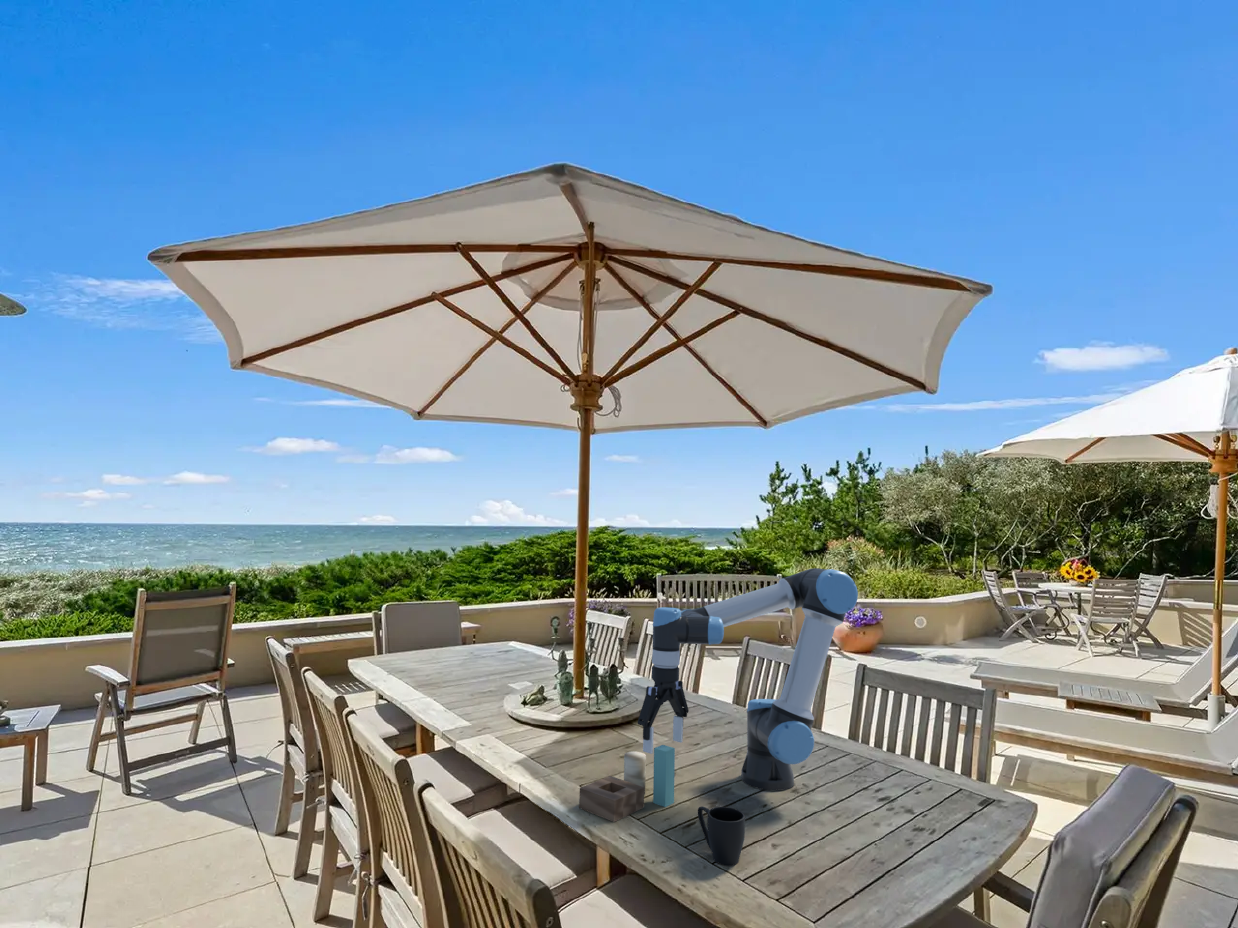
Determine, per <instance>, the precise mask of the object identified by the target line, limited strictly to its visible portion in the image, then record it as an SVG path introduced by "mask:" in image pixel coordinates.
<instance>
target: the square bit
mask: <svg viewBox="0 0 1238 928" xmlns="http://www.w3.org/2000/svg"><path fill="white" fill-rule="evenodd" d="M675 752H676V749H675V747H674V746H673V747H672V746H670V745H665V744H661V745H658V746H656V747H653V785H652V787H653V788H652V789H653V792H652V796H653V797H652V798H653V799H652V803H653V804H655V805H657V806H661V807H663V808H666V807H668V806H671V805H672V804H674V803H675V765H676V764H675V760H676V759H675V757H676V756H675V754H676V753H675Z"/></svg>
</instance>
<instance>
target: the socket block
mask: <svg viewBox="0 0 1238 928" xmlns="http://www.w3.org/2000/svg"><path fill="white" fill-rule="evenodd" d="M578 797H579V801H578V802H579V804H578V805H579V806H578V808H579V810H583V811H586V812H588V813H591V814H593V815H596V816H599V817H601V818H603V819H606V820H608V821H610V822H614V823H616V822H617V821H619V820H621V819H623V818H625V817H627V816H629V815H632V814H633V813H636V812H637V811H640V810H642V809H643V808H645V795H644V787H642V786H639V785H636V784H633V783H630V782H627V781H624V779H620V778H617V777H615V776H612V775H608V776H606V777H604V778H600V779H598V780H596V781H594V782H591V783H589V784H586V785H584V786H581V787H579V796H578Z"/></svg>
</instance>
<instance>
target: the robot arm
mask: <svg viewBox="0 0 1238 928" xmlns="http://www.w3.org/2000/svg"><path fill="white" fill-rule="evenodd" d="M858 596H859V593H858V588H857V585H856V583H855V581H854V580H853V578H851V576H849V574H847V573H845V572H843V571H840V570H836V569H832V568H830V569H827V568H826V569H825V568H817V567H813V568H809V569H805V570H802V571H800V572H797V573H794V574H791V575H788V576H786V577H782V578H780V579H779V581H778V583H775V584H771V585H769V586H765V587H762V588H759V589H756V590H752V591H750V592H746V593H743V594H740V595H736V596H733V597H730V598H727V599H723V600H720V601H717V602H714V603H710V604H707V605H704V606H702V607H699V608H698V607H697V608H694V609H684V610H682V611H681V609H680V608H677V607H665V606H664V607H657V608H655V610H654V611H653V620H652V621H653V622H652V654H651V655H652V658H651V664H653V665H652V666H651V677H650V678H651V680H652V681H653V683H654V684H653V686H649V685H648V686H646V688H645V695H644V700H643V703H642V707H641V710H640V713H639V717H638V720H637V725H638V726H642V740H643V741H642V752H643V753H647V754H651V755H652V754H654V730H655V727H654V726H653V724H654V722H655V719H656V717H657V716H658V712H659V711H660V708H661V706H663V705H664V704H665V703H666V702H668V703H669V705H670V706H671V708H672V710H673V712H674V715H673V722H672V723H673V726H672V728H673V729H672V741H674V742H677V743H683V741H684V740H683V736H684V733H683V732H684V729H683V728H684V718H687V717H688V714H689V707H688V706H689V705H688V703H687V699H686V696H685V692H684V683H683V680H680V668H679V665H680V662H681V661H680V659H681V657H680V656H681V653H680V651H681V647H680V646H681V644H683V645H685V644H690V645H709V646H711V645H720V644H721V643H722V642H723V640H724V636H725V628H726V627H729V626H731V625H735V624H739V623H742V622H745V621H748V620H751V619H752V620H753V619H754V618H757V617H761V616H763V615H768V614H771V613H774V612H776V611H780V610H782V609H783V610H784V609H786V608H788V609H790V610H795V609H798V608H801V610H802V613H803V615H804V620H803V622H802V626H801V629H800V631H799V636H798V637H797V638H798V639H797V642H796V646H795V648H794V652H793V655H792V659H791V661H790V665H789V667H788V671H787V675H786V677H785V681H784V683H783V687H782V691H781V693H780V694H781V695H780V697H779V698H778V699H775V698H755V699H751V700H749V701H748V703H747V709H746V716H747V717H746V720H747V721H746V724H747V725H746V726H747V727H746V730H747V733H746V735H747V736H746V737H747V738H746V739H747V741H746V743H747V745H746V746H747V749H746V751H747V752H746V755H745V757H744V761H743V764H742V768H741V777H740V779H741V781H742V782H743V783H744V784H745V785H748V786H750V787H752V788H755V789H760V790H764V791H784V790H789V789H791V788H792V787H794V784H795V774H794V772H793V768H792V765H798V764H800V763H803V762H805V761H806V760H808V758H809V757H810V756H811V754H812V752H813V750H814V747H815V737H814V735H813V732H812V727H813V723H814V721H815V717H814V716H813V713H812V706H813V704H814V701H815V700H814V699H815V696H816V694H817V693H816V692H817V690H818V686H819V683H820V681H821V676H822V672H823V670H824V667H825V663H826V660H827V657H828V653H829V650H830V646H831V643H832V640H833V636H834V633H835V629H836V627H837V626H840V625H842V624H843V622H844V621H845V616H846V614H847V613H849V612H850V611H852V610H853V609H854V608H855V606H856V604H857V602H858Z"/></svg>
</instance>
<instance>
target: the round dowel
mask: <svg viewBox="0 0 1238 928" xmlns="http://www.w3.org/2000/svg"><path fill="white" fill-rule="evenodd" d="M623 757H624V758H623V761H624V762H623V763H624V765H623V780H624V781H627V782H630V783H633V784H636V785H639V786H642V787H644V796H645V795H646V777H647V776H646V775H647V774H646V771H647V769H646V767H647V764H646V763H647V755H646V754H645V752H643V751H642V752H641V751H636V750H635V751H628V752H625V753H624V756H623Z"/></svg>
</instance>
